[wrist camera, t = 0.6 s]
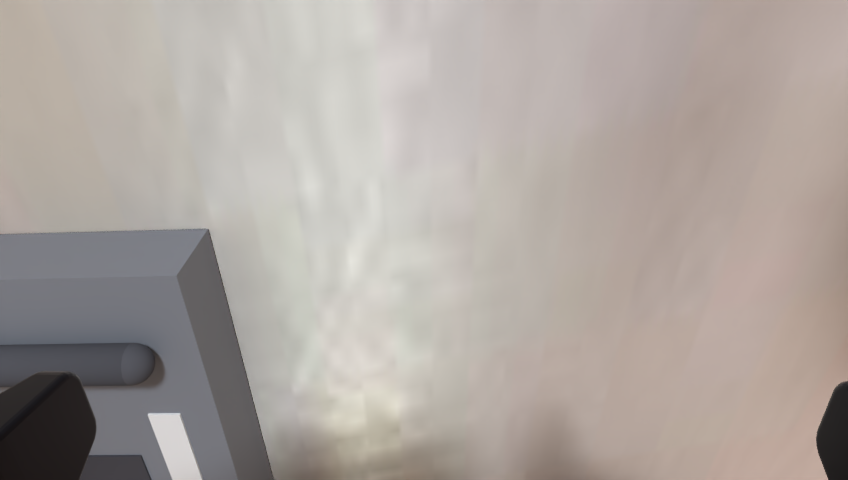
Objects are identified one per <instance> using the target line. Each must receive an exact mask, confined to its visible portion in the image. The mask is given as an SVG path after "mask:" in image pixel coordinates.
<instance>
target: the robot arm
mask: <svg viewBox="0 0 848 480" xmlns="http://www.w3.org/2000/svg"><path fill="white" fill-rule="evenodd" d="M96 429H97V425H96V419H95V415H94V413H93V410H92V408H91V405H90V403H89V400H88V397H87V395H86V392H85V390H84V387H83V385H82V382H81V380H80V378H79V377H78V376H77V375H76V374H75V373H73V372H70V371H41V372H37V373H35V374H33V375H31V376H29V377H28V378H26V379H24V380H22V381H21V382H19V383H17V384H15V385H14V386H12V387H10V388H9V389H7V390H5V391H3V392H2V393H0V480H79V479H80V477H81V474H82V471H83V469H84V466H85V464H86V461H87V458H88V456H89V453H90V451H91V448H92V445H93V443H94V440H95V436H96ZM816 442H817V449H818V453H819V456H820V459H821V461H822V464H823V467H824V469H825V472H826V474H827V477H828V480H848V381H847V382H843V383H840V384H839V385H838V386H837V387H836V388H835V389H834V391H833V394H832V396H831V398H830V401H829V403H828V406H827V408H826V411H825V413H824V416H823V418H822V421H821V423H820V426H819V428H818V431H817V437H816Z"/></svg>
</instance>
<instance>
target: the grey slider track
mask: <svg viewBox="0 0 848 480" xmlns="http://www.w3.org/2000/svg"><path fill="white" fill-rule="evenodd" d="M154 368H155V357H154V354H153V352H152V351H151V350H150V349H149V348H148V347H147V346H145V345H143V344H140V343H81V344H19V345H0V387H12V386H14V385H15V384H17V383H19V382H21V381H22V380H24V379H26V378H28V377H29V376H31V375H33V374H35V373H37V372H41V371H70V372H73V373H75V374H76V375H77V376H78V377H79V378H80V380H81V382H82V385H83V386H132V385H138V384H140V383H142V382H144V381H146V380H147V379H148V378H149V377H150V376H151V374H152V373H153V371H154Z"/></svg>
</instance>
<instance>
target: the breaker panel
mask: <svg viewBox="0 0 848 480" xmlns="http://www.w3.org/2000/svg"><path fill="white" fill-rule="evenodd" d="M81 343H140V344H143V345H145V346H147V347H148V348H149V349H150V350H151V351H152V352H153V354H154V357H155V368H154V371H153V373H152V374H151V376H150V377H149V378H148V379H147V380H146V381H144V382H142V383H140V384H138V385H132V386H83V387H84V390H85V392H86V395H87V397H88V400H89V403H90V405H91V408H92V410H93V413H94V415H95V419H96V425H97V429H96V436H95V440H94V443H93V445H92V448H91V451H90V453H89V456H88V458H87V461H86V464H85V466H84V469H83V471H82V474H81V477H80V479H79V480H273V476H272V472H271V468H270V464H269V461H268V457H267V453H266V449H265V445H264V441H263V437H262V434H261V430H260V426H259V422H258V418H257V414H256V411H255V407H254V403H253V399H252V395H251V391H250V388H249V384H248V380H247V376H246V372H245V368H244V364H243V361H242V357H241V353H240V349H239V345H238V341H237V338H236V334H235V330H234V326H233V322H232V318H231V315H230V311H229V307H228V303H227V299H226V295H225V291H224V288H223V284H222V280H221V276H220V272H219V268H218V265H217V261H216V257H215V253H214V249H213V245H212V241H211V238H210V234H209V230H208V229H186V230H149V231H111V232H74V233H37V234H0V345H19V344H81ZM9 388H10V387H0V393H2V392H3V391H5V390H7V389H9Z"/></svg>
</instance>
